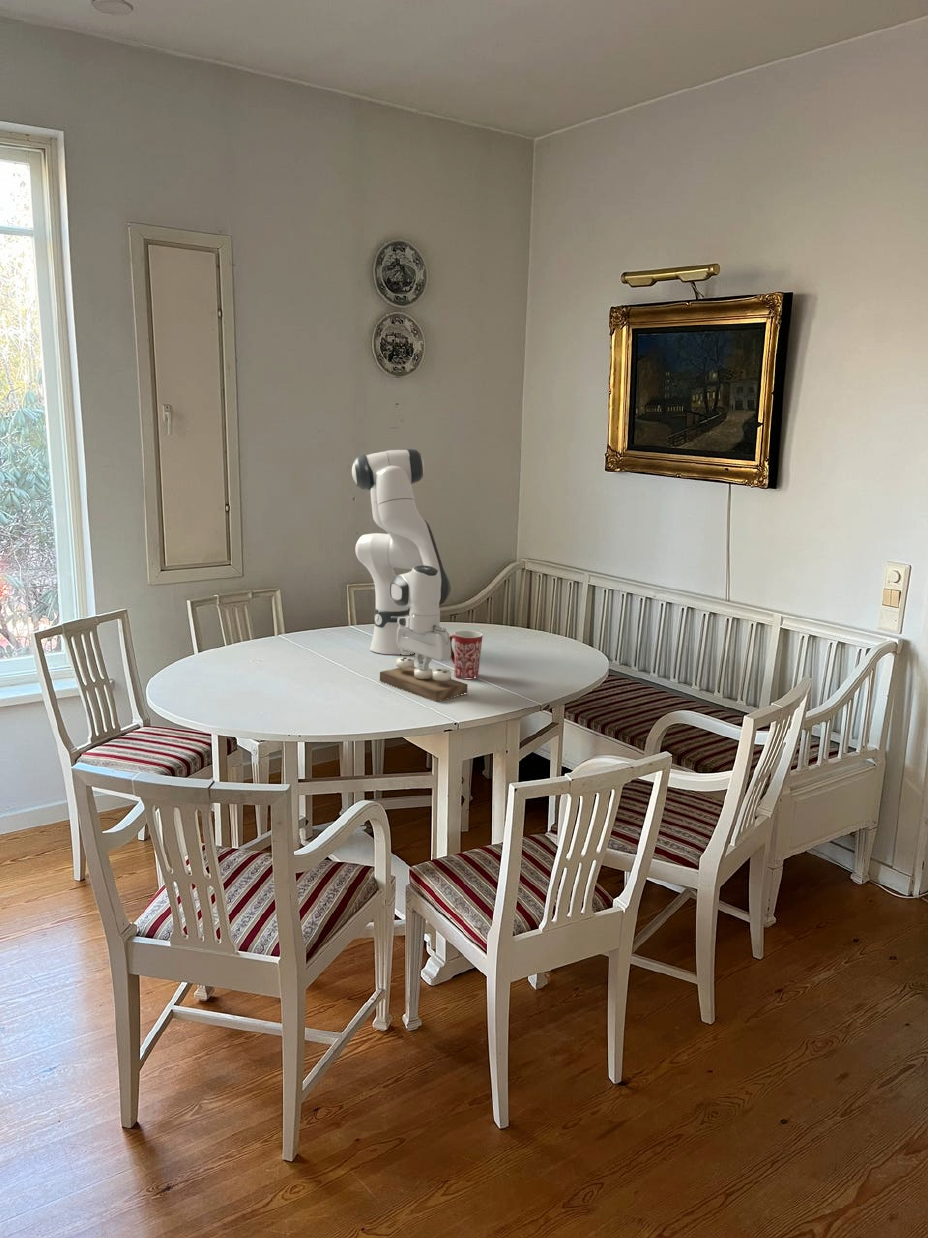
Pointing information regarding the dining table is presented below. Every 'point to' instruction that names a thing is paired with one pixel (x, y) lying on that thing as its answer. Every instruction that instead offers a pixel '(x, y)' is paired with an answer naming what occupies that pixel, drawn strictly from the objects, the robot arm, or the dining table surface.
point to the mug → (466, 653)
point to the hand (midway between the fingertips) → (422, 669)
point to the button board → (422, 684)
